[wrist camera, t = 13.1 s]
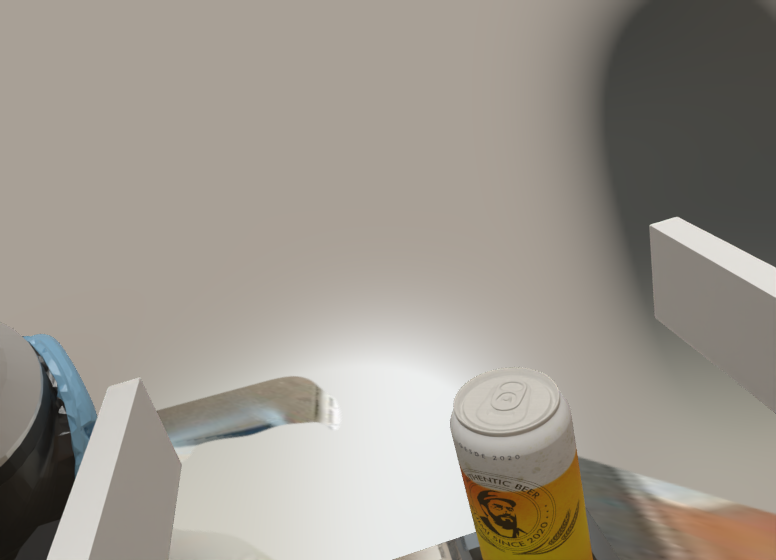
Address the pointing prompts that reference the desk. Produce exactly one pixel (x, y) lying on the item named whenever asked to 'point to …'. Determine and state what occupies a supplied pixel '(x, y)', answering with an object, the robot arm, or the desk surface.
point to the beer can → (520, 467)
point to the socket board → (465, 556)
